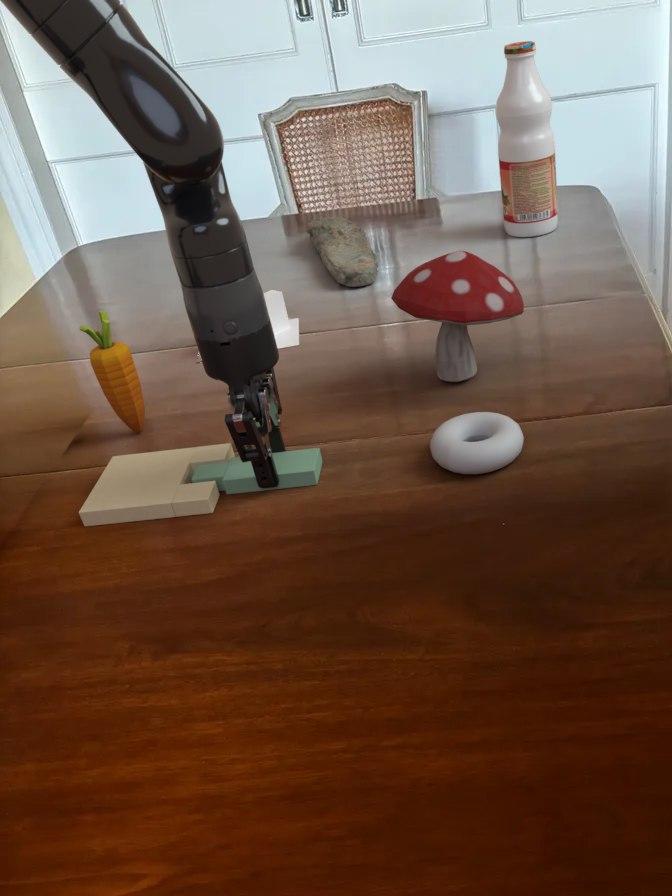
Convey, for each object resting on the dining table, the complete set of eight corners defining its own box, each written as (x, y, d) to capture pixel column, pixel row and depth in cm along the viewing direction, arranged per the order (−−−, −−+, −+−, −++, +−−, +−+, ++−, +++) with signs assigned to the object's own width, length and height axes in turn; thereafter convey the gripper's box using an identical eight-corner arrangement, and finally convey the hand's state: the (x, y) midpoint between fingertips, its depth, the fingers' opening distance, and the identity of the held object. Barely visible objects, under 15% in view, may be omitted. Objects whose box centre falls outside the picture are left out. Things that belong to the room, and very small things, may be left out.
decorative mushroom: (428, 348, 121) (411, 233, 112) (543, 349, 116) (535, 229, 107) (386, 402, 109) (364, 279, 100) (512, 406, 104) (500, 277, 95)
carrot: (130, 446, 108) (83, 327, 99) (112, 435, 112) (65, 318, 102) (166, 430, 111) (124, 312, 102) (148, 420, 114) (105, 304, 105)
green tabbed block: (322, 461, 99) (319, 447, 98) (317, 485, 96) (313, 470, 94) (204, 474, 100) (199, 460, 99) (194, 498, 97) (189, 484, 95)
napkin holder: (298, 317, 136) (289, 279, 133) (300, 344, 128) (290, 305, 124) (201, 334, 136) (189, 297, 132) (195, 363, 127) (183, 324, 123)
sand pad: (235, 456, 103) (230, 442, 102) (213, 513, 94) (208, 498, 92) (118, 469, 104) (112, 456, 103) (84, 526, 95) (78, 512, 94)
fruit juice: (537, 240, 151) (525, 49, 134) (493, 235, 157) (477, 50, 139) (569, 224, 156) (562, 37, 139) (526, 219, 162) (514, 38, 145)
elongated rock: (331, 303, 143) (392, 293, 145) (327, 270, 140) (389, 260, 141) (302, 235, 169) (353, 227, 171) (297, 205, 166) (350, 198, 168)
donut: (535, 437, 98) (449, 431, 101) (533, 408, 96) (446, 403, 99) (509, 485, 91) (418, 476, 94) (507, 455, 89) (414, 447, 92)
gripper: (209, 299, 93) (251, 445, 103) (175, 356, 82) (227, 512, 92) (279, 291, 92) (315, 437, 103) (255, 346, 81) (298, 504, 92)
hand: (273, 472), depth 97 cm, fingers closed on green tabbed block, 5 cm apart
